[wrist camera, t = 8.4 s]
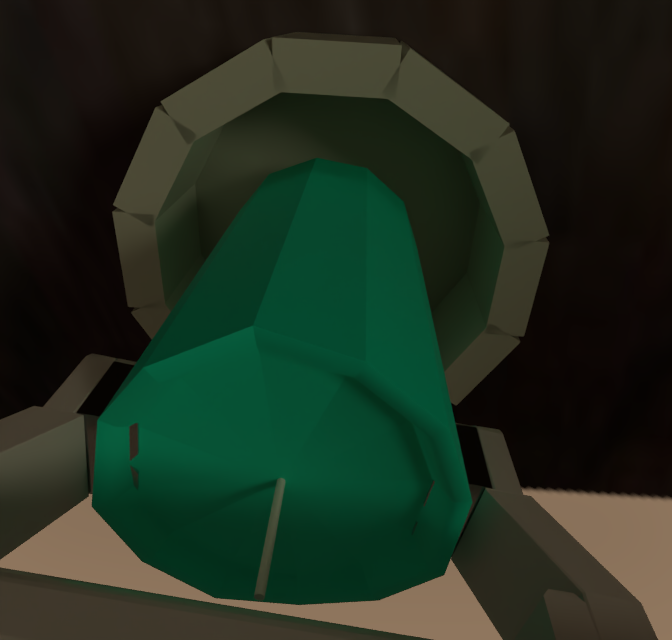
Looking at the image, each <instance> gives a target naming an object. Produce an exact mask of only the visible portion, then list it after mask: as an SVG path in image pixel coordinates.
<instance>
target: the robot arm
mask: <svg viewBox="0 0 672 640" xmlns="http://www.w3.org/2000/svg"><path fill="white" fill-rule="evenodd" d="M135 364H136V362H133V361H128V360H124V359H117V358H113V357H108V356H103V355H98V354H93V353H92V354H90V355H87V356H86V357H85V358H84V359H83V360H82V361H81V362H80V364H79V365H78V366H77V367H76V368H75V369H74V371H73V372H72V373H71V374H70V375H69V377H68V378H67V379H66V380H65V381H64V382H63V384H62V385H61V386H60V387H59V388H58V390H57V391H56V392H55V393H54V394H53V396H52V397H51V398H50V399H49V400H48V401H47V403H46V404H45V405H44V406H43V407H37V406H33V407H30V408H28V409H25V410H23V411H20V412H18V413H16V414H13V415H11V416H8V417H6V418H3V419H1V420H0V559H2V558H3V557H4V556H6V555H7V554H9V553H10V552H11V551H13V550H14V549H16V548H17V547H18V546H20V545H21V544H23V543H24V542H25V541H27V540H28V539H30V538H31V537H32V536H34V535H35V534H37V533H38V532H39V531H41V530H42V529H44V528H45V527H46V526H47V525H49V524H50V523H52V522H53V521H54V520H56V519H58V518H59V517H60V516H62V515H63V514H64V513H66V512H67V511H69V510H70V509H72V508H73V507H74V506H76V505H77V504H78V503H80V502H81V501H83V500H84V499H85V498H87V497H88V496H89V494H93V480H94V464H95V449H96V434H97V420H98V418H99V417H100V415H101V414H102V413H103V411H104V410H105V408H106V407H107V405H108V404H109V402H110V401H111V399H112V398H113V396H114V395H115V393H116V392H117V390H118V389H119V388H120V386H121V385H122V383H123V382H124V380H125V379H126V377H127V376H128V374H129V373H130V371H131V370H132V368H133V367H134V365H135ZM455 424H456V429H457V433H458V438H459V442H460V447H461V452H462V456H463V461H464V465H465V470H466V474H467V479H468V484H469V488H470V493H471V497H472V505H471V507H470V510H469V513H468V515H467V518H466V520H465V523H464V525H463V528H462V530H461V533H460V536H459V538H458V541H457V543H456V546H455V548H454V551H453V554H452V556H451V557H452V558H451V560H452V561H453V563H454V564H455V566H456V567H457V569H458V570H459V572H460V574H461V575H462V577H463V578H464V580H465V581H466V583H467V584H468V586H469V587H470V589H471V591H472V592H473V594H474V595H475V597H476V598H477V600H478V602H479V603H480V604H481V606H482V608H483V609H484V611H485V612H486V614H487V616H488V617H489V619H490V620H491V622H492V623H493V625H494V626H495V628H496V629H497V631H498V633H499V634H500V636H501V637H502V639H503V640H658V639H657V637H656V635H655V632H654V630H653V628H652V626H651V624H650V621H649V619H648V617H647V615H646V613H645V611H644V609H643V606H642V604H641V603H640V602H639V601H638V600H637V599H636V598H635V597H634V596H633V595H632V594H631V593H630V592H629V591H628V590H627V589H626V588H625V587H624V586H623V585H622V584H621V583H620V582H619V581H618V580H617V579H616V578H615V577H614V576H613V575H611V574H610V573H609V572H608V571H607V570H606V569H605V568H604V567H603V566H602V565H601V564H600V563H599V562H598V561H597V560H596V559H595V558H594V557H593V556H592V555H591V554H590V553H589V552H588V551H587V550H586V549H585V548H584V547H583V546H582V545H580V544H579V542H577V541H576V540H575V539H574V538H573V537H572V536H571V535H570V534H569V533H568V532H567V531H566V530H565V529H564V528H563V527H562V526H561V525H560V524H559V523H558V522H557V521H556V520H555V519H554V518H553V517H552V516H551V515H550V514H549V513H548V512H547V511H546V510H544V509H543V508H542V507H541V506H540V505H539V504H538V503H537V502H536V501H535V500H534V499H533V498H532V497H531V496H527V495H523V493H522V490H521V487H520V484H519V481H518V478H517V475H516V472H515V469H514V466H513V463H512V460H511V457H510V454H509V451H508V448H507V445H506V442H505V439H504V436H503V433H502V432H501V431H500V430H499V429H492V428H486V427H480V426H470V425H464V424H459V423H455ZM129 442H130V461H131V460H132V459H133V458H134V457H135V456H136V455H138V453H139V423H135V424H133V425H131V426H129ZM130 468H131V473H132V478H133V483H134V486H135V487H136V489H137V490H138V488H139V471H138V469H136V468H135V467H133V466H131V465H130ZM434 483H435V481H434V480H432V483H431V485H430V488H429V490H428V492H427V495H426V497H425V500H424V502H423V505H424V506H425V504H426V501H427V499H428V497H429V494H430V492H431V489H432V487H433V485H434ZM417 523H418V522H417V521H416V522H415V524H414V527H413V530H412V535H413V533H414V531H415V528H416V526H417ZM0 640H431V639H426V638H420V637H413V636H407V635H400V634H395V633H389V632H383V631H377V630H371V629H365V628H359V627H353V626H347V625H341V624H335V623H329V622H323V621H317V620H311V619H305V618H299V617H293V616H287V615H281V614H275V613H269V612H263V611H257V610H251V609H245V608H239V607H233V606H227V605H221V604H215V603H209V602H203V601H197V600H191V599H185V598H179V597H173V596H167V595H161V594H155V593H149V592H144V591H137V590H132V589H126V588H119V587H113V586H108V585H101V584H96V583H89V582H83V581H78V580H71V579H66V578H59V577H53V576H47V575H41V574H35V573H29V572H23V571H17V570H11V569H5V568H0Z"/></svg>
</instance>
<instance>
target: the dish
mask: <svg viewBox="0 0 672 640" xmlns="http://www.w3.org/2000/svg"><path fill="white" fill-rule="evenodd" d="M161 103H162V105H160V106H158V107H155V110H154V112H153V114H152V117H151V119H150V121H149V123H148V126H147V128H146V130H145V133H144V135H143V137H142V139H141V142H140V144H139V146H138V149H137V151H136V153H135V155H134V158H133V160H132V162H131V165H130V167H129V169H128V171H127V174H126V176H125V178H124V181H123V183H122V185H121V188H120V190H119V192H118V194H117V197H116V199H115V201H114V204H113V205H114V206H116V207H117V209H115V210H114V211H113V212H112V214H113V220H114V226H115V232H116V238H117V244H118V250H119V256H120V262H121V267H122V273H123V279H124V285H125V291H126V297H127V303H128V307H135V308H134V309H133V311H132V312H131V314H132V315H133V316H134V317H135V319H136V320H137V321H138V323H139V324H140V325H141V326H142V328H143V329H144V330H145V332H146V333H147V334H148V335H149V337H150V338H151V339H153V337H154V336H155V335H156V333H157V332H158V330H159V329H160V327H161V326H162V324H163V323H164V321H165V320H166V318H167V317H168V315H169V314H170V312H171V311H172V310H173V308H174V307H175V305H176V304H177V302H178V301H179V299H180V298H181V296H182V295H183V293H184V292H185V290H186V289H187V287H188V286H189V285H190V283H191V282H192V280H193V279H194V277H195V276H196V274H197V273H198V271H199V270H200V268H201V267H202V265H203V264H204V262H205V261H206V259H207V258H208V257H209V255H210V254H211V252H212V251H213V249H214V248H215V246H216V245H217V243H218V242H219V240H220V239H221V237H222V236H223V234H224V233H225V232H226V230H227V229H228V227H229V226H230V224H231V223H232V221H233V220H234V218H235V217H236V215H237V214H238V212H239V211H240V210H241V208H242V207H243V206H244V205H245V203H246V202H247V201H248V200H249V198H250V197H251V196H252V195H253V193H254V192H255V191H256V190H257V188H258V187H259V186H260V185H261V183H262V182H263V181H264V180H265V178H266V177H267V176H268V175H269V174H270V173H273V172H276V171H279V170H282V169H285V168H288V167H291V166H294V165H296V164H299V163H302V162H305V161H308V160H311V159H314V158H321V159H326V160H331V161H335V162H340V163H345V164H350V165H354V166H359V167H364V168H367V169H369V170H370V171H371V172H372V173H373V174H374V175H375V176H376V177H377V178H378V179H379V180H381V181H382V182H383V183H384V184H385V185H386V186H387V187H388V188H389V189H390V190H392V191H393V192H394V193H395V194H396V195H397V196H398V197H399V198H400V199H401V200H403V201H404V204H405V207H406V211H407V214H408V218H409V221H410V225H411V228H412V232H413V235H414V239H415V242H416V246H417V250H418V254H419V259H420V264H421V268H422V273H423V277H424V282H425V287H426V291H427V296H428V300H429V305H430V309H431V314H432V319H433V323H434V328H435V332H436V337H437V342H438V346H439V351H440V355H441V360H442V364H443V369H444V374H445V378H446V383H447V387H448V392H449V397H450V401H451V403H453V404H454V405H457V404H458V403H459V402H460V401H462V400H463V399H464V398H465V397H466V396H467V395H468V394H469V393H470V392H471V391H472V390H473V389H474V388H475V387H476V386H477V385H478V384H479V383H480V382H481V381H482V380H483V379H484V378H485V377H486V376H487V375H488V374H489V373H490V372H491V371H492V370H493V369H494V368H495V367H496V366H497V365H498V364H499V363H500V362H501V361H502V360H503V359H504V358H505V357H506V356H507V355H508V354H509V353H510V352H511V351H512V350H513V349H514V348H515V347H516V346H517V345H518V344H519V343H520V340H519V337H518V336H523V337H524V334H525V331H526V327H527V323H528V320H529V316H530V312H531V309H532V305H533V301H534V298H535V294H536V290H537V287H538V283H539V279H540V276H541V272H542V268H543V265H544V261H545V257H546V253H547V250H548V246H549V241H548V240H547V239H546V237H547V236H549V233H548V230H547V227H546V224H545V221H544V218H543V215H542V212H541V209H540V206H539V203H538V200H537V197H536V194H535V191H534V188H533V185H532V182H531V179H530V176H529V173H528V170H527V167H526V164H525V161H524V158H523V155H522V152H521V149H520V146H519V143H518V140H517V137H516V134H515V131H514V130H513V129H512V128H511V127H509V123H508V122H507V121H505V120H504V119H503V118H502V117H500V116H499V115H498V114H496V113H495V112H494V111H493V110H491V109H490V108H489V107H488V106H486V105H485V104H484V103H483V102H481V101H480V100H479V99H478V98H476V97H475V96H474V95H472V94H471V93H470V92H468V91H467V90H466V89H464V88H463V87H462V86H461V85H459V84H458V83H457V82H455V81H454V80H453V79H451V78H450V77H449V76H447V75H446V74H445V73H443V72H442V71H441V70H440V69H438V68H437V67H436V66H434V65H433V64H432V63H430V62H429V61H428V60H426V59H425V58H424V57H423V56H421V55H420V54H419V53H417V52H416V51H415V50H413V49H412V48H411V47H409V46H408V45H407V44H405V43H404V42H403V41H402V40H401V41H400V43H399V42H398V41H397V40H396V39H395V38H389V37H373V36H356V35H339V34H323V33H306V32H295V33H290V34H285V35H281V36H276V37H272V38H268V39H264V40H262V41H260V42H259V43H257V44H255V45H254V46H252V47H250V48H249V49H247V50H245V51H244V52H242V53H240V54H239V55H237V56H235V57H234V58H232V59H230V60H229V61H227V62H225V63H224V64H222V65H220V66H219V67H217V68H215V69H214V70H212V71H210V72H209V73H207V74H206V75H204V76H202V77H201V78H199V79H197V80H196V81H194V82H192V83H191V84H189V85H187V86H186V87H184V88H182V89H181V90H179V91H177V92H176V93H174V94H172V95H171V96H169V97H167V98H166V99H164V100H162V101H161Z"/></svg>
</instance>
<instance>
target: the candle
mask: <svg viewBox="0 0 672 640" xmlns="http://www.w3.org/2000/svg"><path fill="white" fill-rule="evenodd" d="M135 423H139V453H138V455H136V456H135V457H134V458H133V459H132V460H131V461H130V442H129V426H131V425H133V424H135ZM130 465H131V466H133V467H135V468H136V469H138V471H139V488H138V490H137V489H136V487H135V486H134V483H133V478H132V473H131V468H130ZM432 480H434V481H435V483H434V485H433V487H432V489H431V492H430V494H429V497H428V499H427V501H426V504H425V506H424V505H423V502H424V500H425V497H426V495H427V492H428V490H429V488H430V485H431V483H432ZM471 505H472V497H471V493H470V488H469V484H468V479H467V474H466V470H465V465H464V461H463V456H462V452H461V447H460V442H459V438H458V433H457V429H456V424H455V419H454V415H453V410H452V406H451V401H450V397H449V392H448V387H447V383H446V378H445V374H444V369H443V364H442V360H441V355H440V351H439V346H438V342H437V337H436V332H435V328H434V323H433V319H432V314H431V309H430V305H429V300H428V296H427V291H426V287H425V282H424V277H423V273H422V268H421V264H420V259H419V254H418V250H417V246H416V242H415V239H414V235H413V232H412V228H411V225H410V221H409V218H408V214H407V211H406V207H405V204H404V201H403V200H401V199H400V198H399V197H398V196H397V195H396V194H395V193H394V192H393V191H392V190H390V189H389V188H388V187H387V186H386V185H385V184H384V183H383V182H382V181H381V180H379V179H378V178H377V177H376V176H375V175H374V174H373V173H372V172H371V171H370V170H369V169H367V168H364V167H359V166H354V165H350V164H345V163H340V162H335V161H331V160H326V159H321V158H314V159H311V160H308V161H305V162H302V163H299V164H296V165H294V166H291V167H288V168H285V169H282V170H279V171H276V172H273V173H270V174H269V175H268V176H267V177H266V178H265V180H264V181H263V182H262V183H261V185H260V186H259V187H258V188H257V190H256V191H255V192H254V193H253V195H252V196H251V197H250V198H249V200H248V201H247V202H246V203H245V205H244V206H243V207H242V208H241V210H240V211H239V212H238V214H237V215H236V217H235V218H234V220H233V221H232V223H231V224H230V226H229V227H228V229H227V230H226V232H225V233H224V234H223V236H222V237H221V239H220V240H219V242H218V243H217V245H216V246H215V248H214V249H213V251H212V252H211V254H210V255H209V257H208V258H207V259H206V261H205V262H204V264H203V265H202V267H201V268H200V270H199V271H198V273H197V274H196V276H195V277H194V279H193V280H192V282H191V283H190V285H189V286H188V287H187V289H186V290H185V292H184V293H183V295H182V296H181V298H180V299H179V301H178V302H177V304H176V305H175V307H174V308H173V310H172V311H171V312H170V314H169V315H168V317H167V318H166V320H165V321H164V323H163V324H162V326H161V327H160V329H159V330H158V332H157V333H156V335H155V336H154V337H153V339H152V340H151V342H150V343H149V345H148V346H147V348H146V349H145V351H144V352H143V354H142V355H141V357H140V358H139V360H138V361H137V362H136V364H135V365H134V367H133V368H132V370H131V371H130V373H129V374H128V376H127V377H126V379H125V380H124V382H123V383H122V385H121V386H120V388H119V389H118V390H117V392H116V393H115V395H114V396H113V398H112V399H111V401H110V402H109V404H108V405H107V407H106V408H105V410H104V411H103V413H102V414H101V415H100V417H99V418H98V420H97V434H96V449H95V464H94V480H93V495H92V507H93V508H94V510H96V512H97V513H98V514H99V515H100V516H101V517H102V518H103V519H104V520H105V522H107V524H108V525H109V526H110V527H111V528H112V529H113V530H114V531H115V532H116V534H117V535H118V536H119V537H120V538H121V539H122V540H123V541H124V542H125V543H126V544H127V546H128V547H129V548H130V549H131V550H132V551H133V552H134V553H135V554H136V555H137V556H138V558H139V559H140V560H141V561H142V562H144V563H147V564H148V565H151V566H152V567H154V568H156V569H158V570H160V571H162V572H165V573H167V574H168V575H170V576H172V577H174V578H176V579H178V580H180V581H182V582H185V583H186V584H188V585H190V586H192V587H194V588H196V589H198V590H200V591H202V592H204V593H206V594H208V595H210V596H212V597H214V598H221V599H234V600H247V601H258V602H270V603H283V604H295V605H305V604H323V603H340V602H358V601H375V600H380V599H383V598H386V597H388V596H391V595H394V594H396V593H399V592H401V591H404V590H406V589H409V588H411V587H414V586H417V585H419V584H422V583H425V582H427V581H430V580H432V579H435V578H437V577H440V576H443V575H444V574H445V571H446V569H447V566H448V564H449V561H450V559H451V556H452V554H453V551H454V548H455V546H456V543H457V541H458V538H459V536H460V533H461V530H462V528H463V525H464V523H465V520H466V518H467V515H468V513H469V510H470V507H471ZM416 521H417V522H418V523H417V526H416V528H415V531H414V533H413V535H412V530H413V527H414V524H415V522H416Z"/></svg>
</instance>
